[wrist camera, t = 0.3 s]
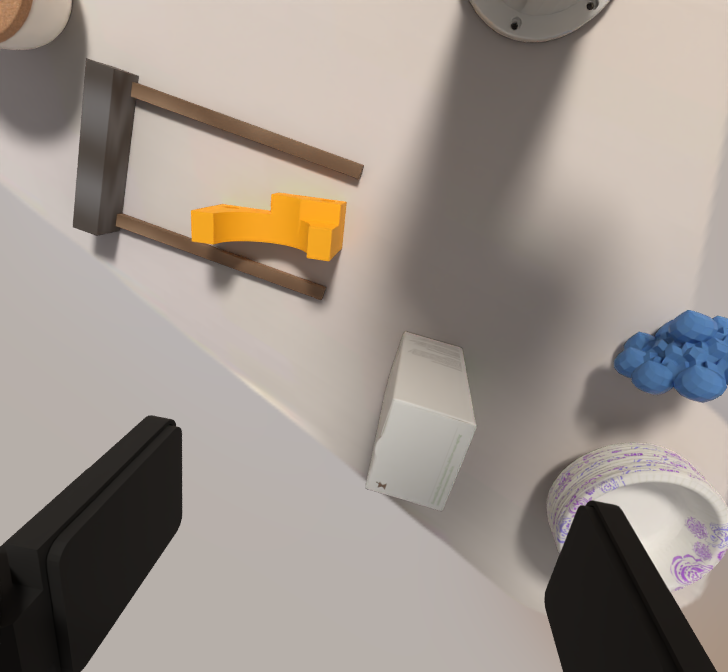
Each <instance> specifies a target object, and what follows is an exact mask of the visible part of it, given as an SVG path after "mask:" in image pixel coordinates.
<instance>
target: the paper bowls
mask: <svg viewBox="0 0 728 672" xmlns="http://www.w3.org/2000/svg"><path fill="white" fill-rule="evenodd" d="M591 500H593V501H598V502H604V503H609V504H614V505H617V506H619V507H620V508H621V509H622V511H623V512H624V514H625V516H626V518H627V519H628V521H629V523H630V524H631V526H632V528H633V529H634V531H635V533H636V535H637V536H638V538H639V540H640V541H641V543H642V545H643V547H644V548H645V550H646V552H647V553H648V555H649V557H650V558H651V560H652V562H653V564H654V565H655V567H656V569H657V570H658V572H659V574H660V575H661V577H662V579H663V581H664V582H665V584H666V586H667V587H668V589H669V591H670V592H673V591H676V590H679V589H682V588H684V587H686V586H688V585H690V584H692V583H694V582H696V581H697V580H699V579H701V578H702V577H704V576H705V575H706V574H707V573H709V572H710V571H711V570H712V569H713V568H714V567H715V566H716V565H717V564H718V562H719V561H720V560H721V559H722V558H723V556H724V555H725V553H726V551H727V549H728V507H727V505H726V503H725V501H724V500H723V498H722V497H721V496H720V494H719V493H718V492H716V490H715V489H714V488H713V487H712V486H711V485H710V484H709V482H708V481H707V480H706V479H705V478H704V477H703V476H702V475H701V473H700V472H699V471H698V470H697V469H696V468H695V467H694V466H693V465H692V464H691V463H690V462H689V461H688V460H686V459H685V458H684V457H682V456H681V455H679V454H678V453H676V452H674V451H672V450H670V449H667V448H665V447H662V446H659V445H655V444H648V443H622V444H614V445H609V446H605V447H602V448H600V449H597V450H594V451H592V452H590V453H587V454H585V455H583V456H581V457H579V458H578V459H576V460H575V461H574V462H573V463H571V464H570V465H569V466H567V467H566V468H565V469H564V470H563V471H562V472H561V473H560V475H559V476H558V477H557V478H556V480H555V481H554V483H553V485H552V486H551V488H550V490H549V493H548V498H547V504H546V511H547V517H548V522H549V526H550V528H551V531H552V535H553V538H554V541H555V543H556V547H557V549H558V552H559V555H560V552H561V550H562V547H563V545H564V542H565V539H566V537H567V534H568V532H569V529H570V527H571V524H572V521H573V519H574V516H575V514H576V511H577V509H578V507H579V506H580V505H584V506H586V504H587V502H589V501H591Z"/></svg>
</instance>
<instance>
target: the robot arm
mask: <svg viewBox="0 0 728 672" xmlns="http://www.w3.org/2000/svg"><path fill="white" fill-rule="evenodd" d="M469 1H470V2H471V4H472V6H473V8H474V10H475V11H476V13H477V14H478V15H479V16H480V18H481V19H482V20H483V21H484V22H485V23H486V24H487V25H488V26H489V27H491V28H492V29H493V30H495V31H496V32H497V33H499V34H501V35H503V36H506V37H508V38H510V39H513V40H518V41H523V42H545V41H549V40H553V39H557V38H560V37H563V36H565V35H567V34H569V33H571V32H573V31H576V30H577V29H578V28H580V27H581V26H583V25H584V24H586V23H587V22H589V21H590V20H591V19H592V18H594V17H595V16H596V15H597V14H598V13H599V12H600V11H601V10H602V9H603V8H604V7H605V6H606V5H607V4H608V3H609V1H610V0H469ZM587 4H590V5H591V6H592V9H591V10H590V11H589V10H588V9H587V7H586V6H587ZM513 23H515V24H516V25H517V29H516V30H513V29H512V28H511V24H513ZM181 519H182V431H181V428H180V427H176V423H175V421H174V420H172V419H167V418H162V417H157V416H147V417H146V418H145V419H143V420H142V421H141V422H140V423H139V424H138V425H137V426H135V427H134V428H133V429H132V430H131V431H130V432H129V433H128V434H127V435H125V436H124V437H123V438H122V439H121V440H120V441H119V442H118V443H116V444H115V445H114V446H113V447H112V448H111V449H110V450H109V451H108V452H106V453H105V454H104V455H103V456H102V457H101V458H100V459H99V460H97V461H96V462H95V463H94V464H93V465H92V466H91V467H90V468H88V469H87V470H85V471H84V472H83V473H82V474H81V475H80V476H79V477H78V478H77V479H75V480H74V481H73V482H72V483H71V484H70V485H69V486H68V487H66V488H65V489H64V490H63V491H62V492H61V493H60V494H59V495H57V496H56V497H55V498H54V499H53V500H52V501H51V502H50V503H49V504H47V505H46V506H45V507H44V508H43V509H42V510H41V511H40V512H39V513H37V514H36V515H35V516H34V517H33V518H32V519H31V520H30V521H28V522H27V523H26V524H25V525H24V526H23V527H22V528H21V529H19V530H18V531H17V532H16V533H15V534H14V535H13V536H12V537H10V538H9V539H8V540H7V541H6V542H5V543H4V544H3V545H2V546H0V672H81V671H82V670H83V669H84V667H85V666H86V665H87V663H88V662H89V660H90V659H91V657H92V656H93V654H94V653H95V652H96V650H97V649H98V647H99V646H100V644H101V643H102V641H103V640H104V638H105V637H106V635H107V634H108V632H109V631H110V629H111V628H112V627H113V625H114V624H115V622H116V620H117V619H118V618H119V616H120V615H121V613H122V612H123V610H124V609H125V607H126V606H127V604H128V603H129V601H130V600H131V598H132V597H133V596H134V594H135V592H136V591H137V590H138V588H139V587H140V585H141V584H142V582H143V581H144V579H145V578H146V576H147V575H148V573H149V572H150V570H151V569H152V568H153V566H154V564H155V563H156V562H157V560H158V559H159V557H160V556H161V554H162V553H163V551H164V550H165V548H166V547H167V545H168V544H169V542H170V541H171V539H172V538H173V537H174V535H175V534H176V532H177V530H178V528H179V526H180V523H181ZM545 608H546V612H547V616H548V619H549V623H550V626H551V630H552V634H553V637H554V641H555V644H556V648H557V652H558V655H559V658H560V662H561V666H562V669H563V672H717V671H716V669H715V667H714V666H713V664H712V662H711V661H710V659H709V657H708V656H707V654H706V652H705V651H704V649H703V647H702V645H701V644H700V642H699V640H698V639H697V637H696V635H695V633H694V632H693V630H692V628H691V627H690V625H689V623H688V621H687V620H686V618H685V616H684V615H683V613H682V611H681V610H680V608H679V606H678V604H677V603H676V601H675V599H674V598H673V596H672V594H671V592H670V591H669V589H668V587H667V586H666V584H665V582H664V581H663V579H662V577H661V575H660V574H659V572H658V570H657V569H656V567H655V565H654V564H653V562H652V560H651V558H650V557H649V555H648V553H647V552H646V550H645V548H644V547H643V545H642V543H641V541H640V540H639V538H638V536H637V535H636V533H635V531H634V529H633V528H632V526H631V524H630V523H629V521H628V519H627V518H626V516H625V514H624V512H623V511H622V509H621V508H620V507H619V506H617V505H614V504H609V503H604V502H598V501H593V500H591V501H589V502H587V504H586V506H584V505H580V506H579V507H578V509H577V511H576V514H575V516H574V519H573V521H572V524H571V527H570V529H569V532H568V534H567V537H566V539H565V542H564V545H563V547H562V550H561V552H560V555H559V557H558V560H557V563H556V565H555V568H554V570H553V573H552V575H551V578H550V581H549V583H548V586H547V588H546V591H545Z"/></svg>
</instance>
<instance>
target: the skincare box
mask: <svg viewBox="0 0 728 672" xmlns="http://www.w3.org/2000/svg"><path fill="white" fill-rule="evenodd" d="M476 427H477V425H476V422H475V416H474V411H473V405H472V400H471V394H470V389H469V383H468V377H467V372H466V366H465V361H464V355H463V350H462V348H461V347H457V346H454V345H451V344H447V343H444V342H440V341H437V340H433V339H430V338H426V337H423V336H419V335H416V334H412V333H409V332H406V331H405V332H404V334H403V336H402V339H401V342H400V345H399V348H398V351H397V354H396V357H395V360H394V363H393V366H392V369H391V372H390V376H389V379H388V383H387V387H386V390H385V394H384V400H383V405H382V409H381V414H380V419H379V424H378V428H377V433H376V438H375V443H374V447H373V452H372V457H371V462H370V467H369V472H368V477H367V481H366V489H368V490H372V491H375V492H378V493H382V494H385V495H389V496H392V497H396V498H399V499H403V500H406V501H409V502H412V503H416V504H419V505H422V506H425V507H429V508H432V509H435V510H439V511H443V509H444V506H445V503H446V501H447V499H448V496H449V494H450V492H451V489H452V487H453V484H454V482H455V479H456V477H457V475H458V472H459V470H460V467H461V465H462V463H463V460H464V458H465V455H466V453H467V450H468V448H469V445H470V443H471V440H472V438H473V435H474V432H475V430H476Z"/></svg>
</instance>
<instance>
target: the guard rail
mask: <svg viewBox="0 0 728 672" xmlns="http://www.w3.org/2000/svg"><path fill="white" fill-rule="evenodd" d="M138 77H139V76H137V75H134V74H132V73H129V72H126V71H123V70H121V69H118V68H115V67H112V66H109V65H106V64H103V63H99V62H96V61H93V60H90V59H86V67H85V80H84V92H83V105H82V117H81V130H80V143H79V155H78V168H77V180H76V193H75V205H74V218H73V227H74V228H77V229H80V230H82V231H85V232H88V233H91V234H93V235H96V236H98V235H103V234H107V233H112V232H116V231H120V228H123V229H126V230H128V231H131V232H134V233H137V234H139V235H142V236H145V237H148V238H150V239H153V240H156V241H159V242H161V243H164V244H167V245H170V246H173V247H175V248H178V249H181V250H184V251H186V252H189V253H192V254H195V255H197V256H200V257H203V258H206V259H208V260H211V261H214V262H217V263H220V264H222V265H225V266H228V267H231V268H233V269H236V270H239V271H242V272H244V273H247V274H250V275H253V276H255V277H258V278H261V279H264V280H267V281H269V282H272V283H275V284H278V285H280V286H283V287H286V288H289V289H291V290H294V291H297V292H300V293H302V294H305V295H308V296H311V297H314V298H316V299H319V300H321V299H322V298H323V295H324V292H325V289H326V287H324V286H322V285H319V284H316V283H313V282H311V281H308V280H305V279H302V278H299V277H297V276H294V275H291V274H288V273H286V272H283V271H280V270H277V269H275V268H272V267H269V266H266V265H264V264H261V263H258V262H255V261H253V260H250V259H247V258H244V257H241V256H239V255H236V254H233V253H230V252H228V251H225V250H222V249H219V248H217V247H214V246H211V245H208V244H206V243H200V242H193V241H192V238H189V237H186V236H183V235H181V234H178V233H175V232H172V231H170V230H167V229H164V228H161V227H159V226H156V225H153V224H150V223H147V222H145V221H142V220H139V219H136V218H134V217H131V216H128V215H125V214H123V213H122V210H123V202H124V193H125V185H126V177H127V169H128V160H129V152H130V144H131V135H132V127H133V119H134V110H135V102H136V98H137V99H139V100H142V101H145V102H148V103H150V104H153V105H156V106H159V107H161V108H164V109H167V110H170V111H173V112H175V113H178V114H181V115H184V116H186V117H189V118H192V119H195V120H197V121H200V122H203V123H206V124H208V125H211V126H214V127H217V128H219V129H222V130H225V131H228V132H230V133H233V134H236V135H239V136H241V137H244V138H247V139H250V140H252V141H255V142H258V143H261V144H264V145H266V146H269V147H272V148H275V149H277V150H280V151H283V152H286V153H288V154H291V155H294V156H297V157H299V158H302V159H305V160H308V161H310V162H313V163H316V164H319V165H321V166H324V167H327V168H330V169H332V170H335V171H338V172H341V173H343V174H346V175H349V176H352V177H354V178H357V179H360V177H361V174H362V170H363V167H364V165H362V164H359V163H356V162H353V161H351V160H348V159H345V158H342V157H340V156H337V155H334V154H331V153H329V152H326V151H323V150H320V149H318V148H315V147H312V146H309V145H307V144H304V143H301V142H298V141H295V140H293V139H290V138H287V137H284V136H282V135H279V134H276V133H273V132H271V131H268V130H265V129H262V128H260V127H257V126H254V125H251V124H249V123H246V122H243V121H240V120H238V119H235V118H232V117H229V116H227V115H224V114H221V113H218V112H216V111H213V110H210V109H207V108H205V107H202V106H199V105H196V104H194V103H191V102H188V101H185V100H182V99H180V98H177V97H174V96H171V95H169V94H166V93H163V92H160V91H158V90H155V89H152V88H149V87H147V86H144V85H141V84H138Z"/></svg>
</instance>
